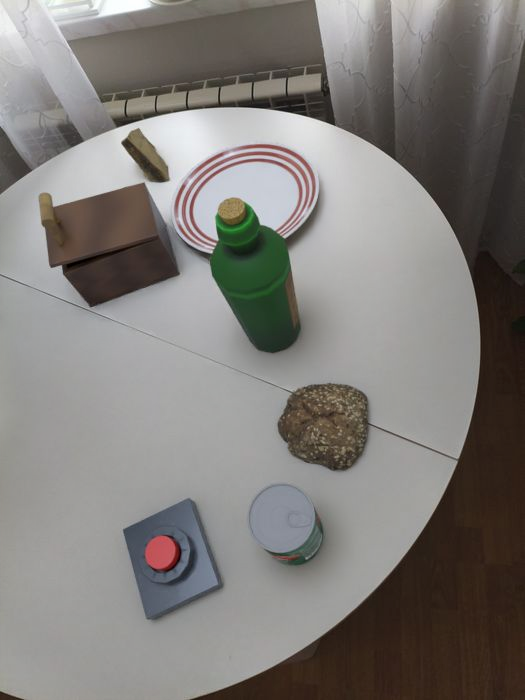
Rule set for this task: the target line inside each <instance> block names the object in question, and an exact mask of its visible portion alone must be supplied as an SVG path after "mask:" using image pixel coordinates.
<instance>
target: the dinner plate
mask: <svg viewBox="0 0 525 700" xmlns="http://www.w3.org/2000/svg"><path fill="white" fill-rule="evenodd" d="M319 194H320V178H319V175H318V171H317V169H316V167H315V165H314V164H313V162H312V161H311V160H310V158H308V156H306V155H305V154H304V153H302V152H301V151H300V150H298V149H296V148H294V147H292V146H290V145H286V144H283V143H279V142H274V141H250V142H243V143H238V144H234V145H231V146H227V147H225V148H223V149H221V150H218V151H216V152H214V153H212V154H211V155H208V156H206V157H205V158H204V159H202V160H201V161H200V162H198V163H197V164H196V165H195V166H194V167H192V168H191V169H190V170H189V171H188V172H187V173H186V175H184V177H183V178H182V180H181V181H180V182H179V184H178V186H177V187H176V189H175V192H174V193H173V197H172V201H171V205H170V217H171V222H172V225H173V227H174V230H175V231H176V233H177V234H178V236H179V237H180V238H181V239H182V240H183V241H184V242H185V243H186V244H187V245H189V246H190V247H192V248H193V249H196V250H198V251H200V252H203V253H207V254H210V255H212V253H213V251H214V248H215V246H216V244H217V242H218V240H219V239H218V235H217V230H216V221H215V216H216V214H217V212H218V207H219V205H220V203H222V202H223V201H224V200H225V199H229V198H232V197H234V198H240V199H241V200H242V201H244V202H246V203H247V204H248V205H250V206H251V207H252V209H253V210H254V212H255V213H256V215H257V216H258V218H259V222H260V225H265V226H267V227H270V228H272V229H273V230H274V231H276V232H277V233H278V234H279V235H281V236H282V237H283V238H285V239H287V238H288V237H290V236H291V235H292V234H294V233H295V232H296V231H298V229H299V228H300V227H301V226H303V224H304V223H305V222H306V221H307V220H308V218H309V217H310V215H312V212H313V210H314V209H315V206H316V204H317V201H318V197H319Z"/></svg>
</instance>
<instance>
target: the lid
mask: <svg viewBox="0 0 525 700" xmlns="http://www.w3.org/2000/svg"><path fill="white" fill-rule="evenodd" d="M146 187H147V185H146V182H140V183H136V184H132V185H129V186H125V187H121V188H118V189H114V190H110V191H106V192H102V193H99V194H95V195H92V196H89V197H84V198H81V199H77V200H74V201H71V202H65V203H63V204H58V205H55V206H54V202H53V197H52V195H51V194H50V193H49V192H41V193H39V194H38V197H37V198H38V206H39V214H40V224H41V226H42V227H43V228H44V231H45V241H46V248H47V250H46V251H47V258H48V265H49V268H51V269H53V268H54V269H55V268H57V267H60V266H61V267H62V265H65V264H68V263H72V262H75V261H79V260H82V259H86V258H90V257H93V256H97V255H100V254H104V253H107V252H111V251H115V250H118V249H122V248H125V247H129V246H132V245H136V244H140V243H143V242H147V241H150V240H154V239H158V238H159V234H158V230H157V226H156V223H155V219H154V215H153V211H152V208H151V204H150V200H149V196H148V192H147V189H148V188H147V189H146Z"/></svg>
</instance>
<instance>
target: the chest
mask: <svg viewBox="0 0 525 700" xmlns="http://www.w3.org/2000/svg"><path fill="white" fill-rule="evenodd" d="M146 189H147V192H148V196H149V200H150V204H151V208H152V211H153V215H154V219H155V223H156V226H157V230H158V234H159V238H158V239H154V240H150V241H147V242H143V243H140V244H136V245H132V246H129V247H125V248H122V249H118V250H115V251H111V252H107V253H104V254H100V255H97V256H93V257H90V258H86V259H82V260H79V261H75V262H72V263H68V264H65V265H61V270H62V275H63V276H64V278H66V280H67V281H68V282H69V283H70V285H71V286H72V287H73V288H74V289H75V291H76V292H77V293H78V294H79V295H80V296H81V298H82V299H83V300H84V301H85V302H86V303H87V304H88V306H89V307H90V308H93V307H96V306H98V305H100V304H104V303H106V302H109V301H112V300H114V299H117V298H120V297H123V296H124V295H125V296H126V295H128V294H131V293H134V292H136V291H139V290H142V289H144V288H148V287H149V286H152V285H155V284H157V283H160V282H163V281H166V280H168V279H171V278H174V277H177V276H179V275H180V270H179V266H178V262H177V260H176V256H175V255H176V254H175V252H174V249H173V245H172V242H171V238H170V233H169V230H168V227H167V223H166V222H165V219H164V218H163V216H162V214H161V212H160V210H159V208H158V206H157V204H156V202H155V200H154V198H153V196H152V194H151V192H150V190H149V189H148V187H147V186H146Z"/></svg>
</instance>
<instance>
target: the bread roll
mask: <svg viewBox="0 0 525 700" xmlns="http://www.w3.org/2000/svg"><path fill="white" fill-rule="evenodd" d="M368 406H369V405H368V397H367V395H366V394H365V393H364V392H363V391H362V390H360V389H358V388H356V387H354V386H351V385H349V384H344V383H343V384H342V383H331V382H327V383H323V384H321V383H320V384H319V383H318V384H315V383H314V384H310V385H309V384H308V385H307V386H302V387H299V388H297V389H296V390H293V391H292V392H291V394H290V395H289V397H288V398H287V400H286V404H285V407H284V409H283V413H282V414H281V415H280V416H279V418H278V420H277V423H276V424H277V429H278V430H277V431H278V434H279V436H280V437H281V438H282V440H283V441H284V442H286V443H287V444H288V445H287V449H288V451H289V452H290V454H291V455H293V456H295V458H298V459H301V460H303V461H304V462H306V463H310V464H320V465H322V466H325V467H327V468H328V469H329V470H331V471H335V470H338V469H340V470H344V469H346V468H349V467H351V466H352V465H353V464H354V463H355V462H356V461H357V458H358V457H359V455H361V453H362V452H363V448H364V447H365V444H366V442H367V437H368V428H369V427H368V425H369V424H368V423H369V421H368V420H369V419H368V418H369V413H368V412H369V408H368Z"/></svg>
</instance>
